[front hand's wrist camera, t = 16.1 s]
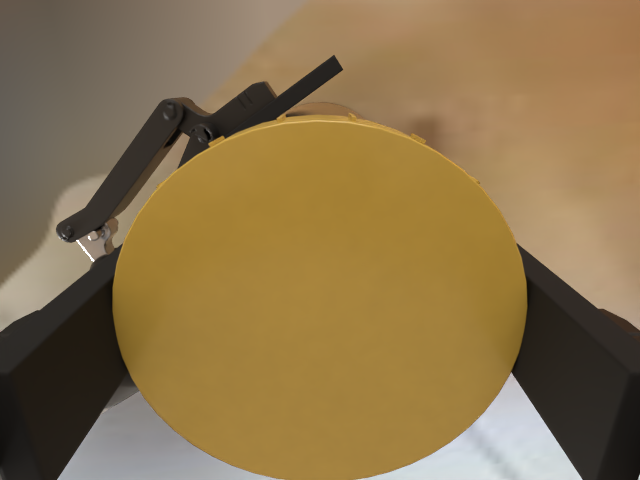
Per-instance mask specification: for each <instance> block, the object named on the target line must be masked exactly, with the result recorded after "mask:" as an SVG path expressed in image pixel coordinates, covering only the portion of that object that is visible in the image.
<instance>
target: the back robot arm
mask: <svg viewBox="0 0 640 480" xmlns="http://www.w3.org/2000/svg"><path fill="white" fill-rule="evenodd" d="M342 70H343V69H342V67H341V65H340V64H339V62H338V60H337V59H336V57H335V56H334V55H333V56H332V57H331V58H329V59H328V60H327V61H325V62H324V63H323V64H321V65H320V66H319V67H317V68H316V69H314V70H313V71H312V72H310V73H309V74H308V75H306V76H305V77H304V78H302V79H301V80H300V81H298V82H297V83H296V84H294V85H293V86H292V87H290V88H289V89H288V90H286V91H285V92H283V93H282V94H281V95H279V96H278V97H277V95H276V94H275V92H274V91H273V90H272V88H271V87H270V85H269V84H268V82H264V81H263V82H259V83H255V84H252V85H251V86H250V87H248V88H247V89H246V90H244V91H243V92H242V93H240V94H239V95H238V96H237V97H235V98H234V99H232V100H231V101H230V102H229V103H227V104H226V105H225V106H223V107H222V108H221V109H219V110H218V111H217V112H215V113H214V114H210V113H207V112H205V111H203V110H202V109H200V108H199V107H198V106H196V105H195V103H194V102H193V101H192V100H190V99H189V98H184V97H182V98H171V99H165V100H163V101H162V102H160V103H159V105H158V106H157V108H156V109H155V110H154V112H153V113H152V115H151V116H150V117H149V119H148V120H147V122H146V123H145V124H144V126H143V127H142V129H141V130H140V132H139V133H138V134H137V136H136V137H135V139H134V140H133V141H132V143H131V144H130V146H129V147H128V148H127V150H126V151H125V153H124V154H123V155H122V157H121V158H120V160H119V161H118V162H117V164H116V165H115V167H114V168H113V169H112V171H111V172H110V174H109V175H108V176H107V178H106V179H105V181H104V182H103V183H102V185H101V186H100V188H99V189H98V190H97V192H96V193H95V195H94V196H93V197H92V199H91V200H90V202H89V203H88V204H87V206H86V207H85V208H84V209H82V210H81V211H79V212H77V213H75V214H74V215H72V216H70V217H69V218H67V219H65V220H64V221H62V222H60V223H59V224H58V225H57V228H56V232H57V235H58V236H59V238H60V239H62V240H63V241H65V242H70V243H72V242H75V241H77V242H78V243H79V244H80V245H81V247H82V248H83V249H84V250H85V252H86V253H87V254H88V255H89V257H90V258H91V259H92V260H93V263H92V265H91V267H90V269H92V268H93V267H94V266H95V265H97V264H98V263H99V262H100V261H102V260H103V259H104V258H105V257H107V256H108V255H109V254H110V253H112V252H113V251H114V250H115V249H116V248H114V246H113V244H112V238H113V236H114V235H115V234H116V233H117V231H118V221H117V219H116V218H114V217H116V216H117V215H119V214H120V213H121V212H122V211H123V210H125V209H126V207H127V206H128V205H129V204H130V203H131V201H132V200H133V199H134V197H135V196H136V195H137V193H138V192H139V191H140V189H141V188H142V187H143V185H144V184H145V183H146V181H147V180H148V179H149V177H150V176H151V175H152V173H153V172H154V171H155V169H156V168H157V167H158V165H159V164H160V163H161V161H162V160H163V159H164V157H165V156H166V155H167V153H168V152H169V151H170V149H171V148H172V147H173V145H174V144H175V143H176V141H177V140H178V139H179V137H180V136H181V135H182V133H185V134H186V135H188V136H189V137H190V139H189V142H188V144H187V147H186V149H185V151H184V154H183V156H182V159H181V161H180V164H179V166H178V169H179V168H180V167H181V166H183V165H184V164H185V163H187V162H188V161H189V160H191V159H192V158H193V157H195V156H196V155H197V154H199V153H201V152H203V151H204V150H206V149H208V148H210V146H209V143H210V142H212V141H214V140H216V139H218V138H220V137H221V136H224V138H225V139H226V138H228V137H230V136H232V135H233V134H235V133H237V132H240V131H242V130H245V129H248V128H250V127H253V126H256V125H258V124H261V123H264V122H269V121H273V120H275V119H276V118H278V117H279V116H280V115H282V114H283V113H285V112H286V111H287V110H289V109H290V108H291V107H293V106H294V105H296V104H297V103H298V102H300V101H301V100H302V99H304V98H305V97H307V96H308V95H309V94H311V93H312V92H313V91H315V90H316V89H317V88H319V87H320V86H322V85H323V84H324V83H326V82H327V81H328V80H330V79H331V78H333V77H334V76H335V75H337V74H338V73H339V72H341V71H342ZM138 391H139V389H138V388H137V386H136V384H135V383H134V381H133V380H132V378H131V376H130V373H129V372H128V373H127V375H126V376H125V378H124V379H123V381H122V382H121V384H120V385H119V387H118V388H117V390H116V391H115V393H114V394H113V396H112V398H111V399H110V401H109V402H108V404H107V405H106V407H105V408H104V410H103V411H102V413H101V414H100V415H102V414H103V413H104V412H106V411H107V410H109V409H110V408H111V407H112V406H115V405H117V404H119V403H120V402H122V401H124V400H125V399H127V398H128V397H130V396H132V395H133V394H135V393H136V392H138ZM0 480H2V478H1V475H0Z"/></svg>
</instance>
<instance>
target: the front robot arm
mask: <svg viewBox="0 0 640 480" xmlns="http://www.w3.org/2000/svg"><path fill="white" fill-rule="evenodd" d="M516 244H517V243H516ZM122 246H123V244H121V245H120V246H119V247H118V248H116V249H115V250H114V251H113V252H112V253H110V254H109V255H108V256H107V257H105V258H104V259H103V260H102V261H100V262H99V263H98V264H97V265H95V266H94V267H93V268H92V269H90V270H89V271H88V272H87V273H86V274H84V275H83V276H82V277H81V278H79V279H78V280H77V281H76V282H74V283H73V284H72V285H71V286H69V287H68V288H67V289H66V290H65V291H63V292H62V293H61V294H60V295H58V296H57V297H56V298H55V299H53V300H52V301H51V302H50V303H48V304H47V305H46V306H45V307H43V308H42V309H41V310H37V311H35V312H33V313H31V314H29V315H27V316H24V317H22V318H20V319H18V320H16V321H14V322H13V323H12V324H10V325H9V326H8V327H6V328H5V329H4V330H3V331H1V332H0V475H1V478H2V480H57V479H58V477H59V476H60V474H61V473H62V471H63V470H64V468H65V467H66V465H67V464H68V462H69V461H70V459H71V458H72V456H73V455H74V453H75V452H76V450H77V449H78V447H79V446H80V444H81V443H82V441H83V440H84V438H85V437H86V435H87V434H88V432H89V431H90V429H91V428H92V426H93V425H94V423H95V422H96V420H97V419H98V417H99V416H100V414H101V413H102V411H103V410H104V408H105V407H106V405H107V404H108V402H109V401H110V399H111V398H112V396H113V394H114V393H115V391H116V390H117V388H118V387H119V385H120V384H121V382H122V381H123V379H124V378H125V376H126V375H127V373H128V372H129V371H128V369H127V367H126V365H125V362H124V360H123V358H122V355H121V351H120V348H119V345H118V340H117V336H116V330H115V325H114V319H113V312H112V305H113V282H114V277H115V271H116V265H117V261H118V258H119V255H120V252H121V249H122ZM517 247H518V249H519V252H520V255H521V258H522V263H523V268H524V273H525V278H526V285H527V315H526V323H525V328H524V333H523V338H522V343H521V347H520V351H519V354H518V356H517V359H516V361H515V364H514V366H513V368H512V371H511V372H512V374H513V375H514V377H515V378H516V380H517V381H518V383H519V384H520V386H521V387H522V389H523V390H524V392H525V393H526V395H527V396H528V398H529V399H530V401H531V402H532V404H533V405H534V407H535V408H536V410H537V411H538V413H539V414H540V416H541V417H542V419H543V420H544V422H545V424H546V425H547V427H548V428H549V430H550V431H551V433H552V434H553V436H554V437H555V439H556V440H557V442H558V443H559V445H560V446H561V448H562V449H563V451H564V452H565V454H566V455H567V457H568V458H569V460H570V461H571V463H572V464H573V466H574V467H575V469H576V470H577V472H578V473H579V475H580V476H581V478H582V479H583V480H638V477H639V474H640V330H638V329H637V328H636V327H634V326H633V325H632V324H631V323H629V322H628V321H627V320H625V319H623V318H621V317H619V316H617V315H615V314H613V313H611V312H609V311H606V310H604V309H597V308H596V307H595V306H594V305H592V304H591V303H590V302H589V301H588V300H586V299H585V298H584V297H583V296H581V295H580V294H579V293H578V292H576V291H575V290H574V289H573V288H571V287H570V286H569V285H568V284H567V283H565V282H564V281H563V280H562V279H560V278H559V277H558V276H557V275H555V274H554V273H553V272H552V271H550V270H549V269H548V268H547V267H545V266H544V265H543V264H542V263H541V262H539V261H538V260H537V259H536V258H534V257H533V256H532V255H531V254H529V253H528V252H527V251H526V250H524V249H523V248H522V247H521V246H519V245H518V244H517Z"/></svg>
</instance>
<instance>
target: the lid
mask: <svg viewBox="0 0 640 480" xmlns="http://www.w3.org/2000/svg"><path fill="white" fill-rule="evenodd" d="M425 142H426V140H424V139H422V138H420V137H418V136H416V135H414V134H413V133H412V134H411V135H410V136H408V135H406V134H404V133H402V132H400V131H398V130H395V129H393V128H390V127H387V126H384V125H381V124H378V123H375V122H372V121H367V120H362V119H357V117H356V116H355V115H353V114H351V113H349V114H348V117H347V116H333V115H306V116H294V117H287V118H286V114H283V115H281V116H279V117H278V118H277V120H273V121H269V122H264V123H261V124H258V125H256V126H253V127H250V128H248V129H245V130H242V131H240V132H237V133H235V134H233V135H232V136H230V137H228V138H226V139H225V138H224V136H221V137H220V138H218V139H216V140H214V141H212V142H210V143H209V146H210V148H208V149H206V150H204V151H203V152H201V153H199V154H197V155H196V156H195V157H193V158H192V159H191V160H189V161H188V162H187V163H185V164H184V165H183V166H181V167H180V168H179V169H177V170H176V171H175V172H173V173H172V174H171V175H170V176H169V177H168V178H167V179H166V180H165V181H163V182H161V183H160V184H158V185H157V187H156V188H157V189H156V190H155V191H154V192H153V194H152V195H151V196H150V198H149V199H148V200H147V202H146V203H145V205H144V206H143V207H142V209H141V210H140V211H139V213H138V214H137V216H136V218H135V220H134V222H133V224H132V226H131V227H130V229H129V231H128V233H127V235H126V237H125V240H124V243H123V246H122V249H121V252H120V255H119V258H118V261H117V265H116V271H115V277H114V282H113V305H112V312H113V319H114V325H115V330H116V336H117V340H118V345H119V348H120V351H121V355H122V358H123V360H124V362H125V365H126V367H127V369H128V371H129V373H130V376H131V378H132V380H133V381H134V383H135V384H136V386H137V388H138V389H139V391H140V392H141V394H142V396H143V397H144V398H145V400H146V401H147V402H148V403H149V405H150V406H151V407H152V408H153V409H154V411H155V412H156V413H157V414H158V415H159V416H160V417H161V418H162V419H163V420H164V421H165V422H166V423H167V424H168V425H169V426H170V427H171V428H172V429H173V430H174V431H175V432H177V433H178V434H179V435H181V436H182V437H183V438H185V439H186V440H187V441H189V442H190V443H191V444H193V445H194V446H196V447H197V448H199V449H201V450H202V451H204V452H206V453H208V454H209V455H211V456H213V457H215V458H217V459H219V460H221V461H223V462H226V463H228V464H230V465H232V466H235V467H238V468H240V469H243V470H246V471H249V472H252V473H255V474H260V475H264V476H268V477H272V478H277V479H284V480H356V479H362V478H368V477H372V476H376V475H380V474H384V473H387V472H391V471H394V470H396V469H399V468H402V467H404V466H407V465H410V464H412V463H414V462H416V461H418V460H420V459H422V458H425V457H427V456H429V455H431V454H432V453H434V452H436V451H437V450H439V449H440V448H442V447H444V446H445V445H447V444H448V443H450V442H451V441H453V440H454V439H455V438H456V437H458V436H459V435H460V434H461V433H463V432H464V431H465V430H466V429H468V428H469V427H470V426H471V425H472V424H473V423H474V422H475V421H476V420H477V419H478V418H479V417H480V416H481V415H482V414H483V413H484V412H485V410H486V409H487V408H488V407H489V405H490V404H491V403H492V401H493V400H494V399H495V398H496V396H497V395H498V394H499V392H500V390H501V389H502V387H503V385H504V384H505V382H506V380H507V378H508V377H509V375H510V373H511V371H512V368H513V366H514V364H515V361H516V359H517V356H518V354H519V351H520V347H521V343H522V338H523V333H524V328H525V323H526V315H527V285H526V278H525V273H524V268H523V263H522V258H521V255H520V252H519V249H518V247H517V244H516V241H515V239H514V236H513V233H512V231H511V230H510V228H509V226H508V224H507V222H506V221H505V219H504V217H503V215H502V214H501V212H500V210H499V209H498V207H497V206H496V205H495V204H494V202H493V201H492V200H491V198H490V197H489V196H488V195H487V193H486V192H485V191H484V189H483V188H482V187H481V186H480V185H479V184H480V182H479V181H478V180H476V179H475V178H473V177H471V176H470V175H468V174H467V173H466V172H465V171H464V170H463V169H462V168H460V167H459V166H457V165H456V164H455V163H453V162H452V161H450V160H449V159H447V158H446V157H445V156H443V155H442V154H440V153H439V152H437V151H436V150H434V149H432V148H430V147H429V146H427V145H425Z"/></svg>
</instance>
